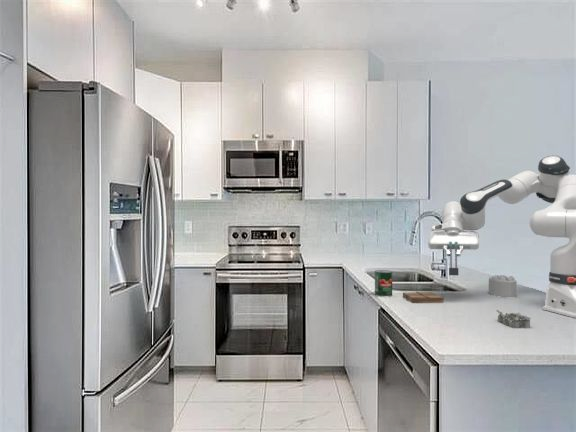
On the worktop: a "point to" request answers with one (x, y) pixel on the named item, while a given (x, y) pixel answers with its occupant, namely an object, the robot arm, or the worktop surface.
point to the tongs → (451, 270)
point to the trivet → (423, 297)
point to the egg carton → (514, 320)
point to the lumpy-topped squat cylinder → (502, 286)
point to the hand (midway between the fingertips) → (453, 255)
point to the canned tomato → (383, 283)
